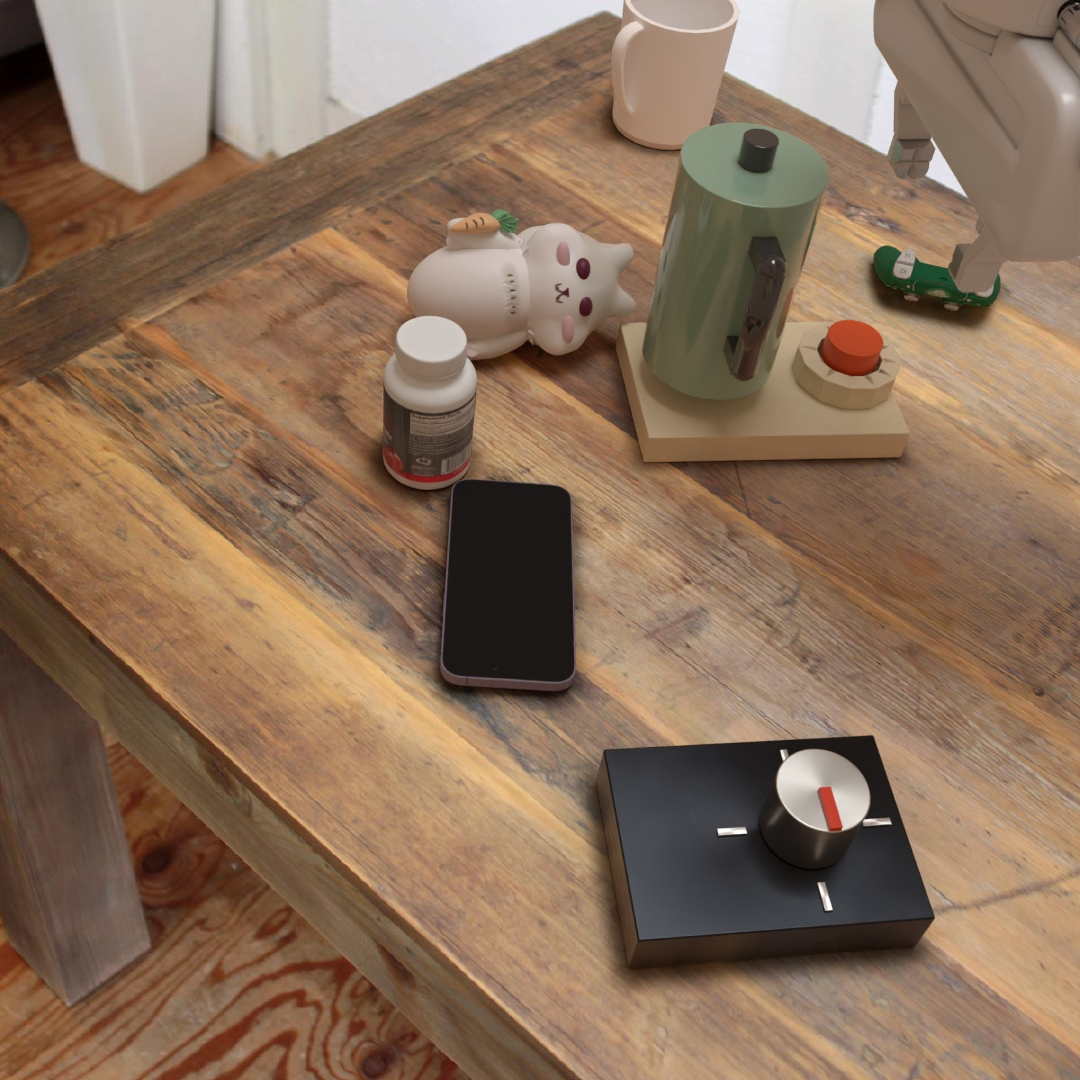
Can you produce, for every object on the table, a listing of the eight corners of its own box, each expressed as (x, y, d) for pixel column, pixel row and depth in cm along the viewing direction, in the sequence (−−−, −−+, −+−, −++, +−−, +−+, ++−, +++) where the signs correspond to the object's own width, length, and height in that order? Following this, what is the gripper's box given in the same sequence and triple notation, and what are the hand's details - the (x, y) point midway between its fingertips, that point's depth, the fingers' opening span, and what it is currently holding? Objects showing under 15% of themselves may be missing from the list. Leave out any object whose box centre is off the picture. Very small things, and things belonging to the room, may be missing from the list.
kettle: (748, 291, 90) (804, 77, 78) (798, 432, 81) (871, 214, 69) (625, 291, 88) (665, 73, 77) (663, 434, 79) (714, 213, 68)
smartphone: (572, 485, 80) (577, 684, 70) (570, 498, 81) (575, 697, 71) (451, 476, 80) (438, 676, 70) (450, 490, 81) (437, 689, 70)
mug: (662, 84, 114) (683, -34, 107) (735, 134, 110) (763, 15, 102) (565, 120, 109) (580, -2, 101) (638, 173, 105) (659, 50, 97)
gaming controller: (862, 295, 100) (874, 284, 94) (874, 245, 100) (887, 231, 94) (984, 323, 99) (1004, 313, 93) (997, 273, 99) (1018, 260, 93)
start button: (866, 340, 88) (874, 319, 87) (882, 376, 86) (890, 355, 84) (814, 340, 87) (821, 319, 86) (829, 377, 85) (836, 356, 84)
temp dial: (750, 789, 65) (767, 746, 62) (836, 785, 65) (858, 742, 63) (770, 872, 62) (790, 831, 59) (861, 866, 62) (884, 826, 60)
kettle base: (856, 345, 93) (873, 300, 90) (904, 457, 86) (923, 412, 83) (615, 347, 91) (623, 300, 88) (643, 462, 83) (653, 416, 80)
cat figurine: (397, 220, 82) (639, 201, 83) (400, 211, 90) (622, 194, 90) (412, 373, 85) (646, 354, 86) (414, 352, 92) (629, 335, 93)
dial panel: (857, 765, 70) (874, 732, 68) (916, 946, 63) (937, 916, 61) (595, 780, 68) (603, 746, 65) (628, 969, 61) (638, 939, 59)
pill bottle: (375, 435, 83) (376, 310, 75) (460, 426, 84) (469, 303, 77) (390, 497, 79) (392, 373, 72) (478, 487, 81) (489, 364, 73)
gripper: (1217, 79, 50) (1076, 359, 60) (1015, -146, 64) (928, 116, 74) (1062, 78, 49) (945, 363, 60) (890, -150, 63) (819, 115, 73)
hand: (934, 224), depth 67 cm, fingers open, 8 cm apart
